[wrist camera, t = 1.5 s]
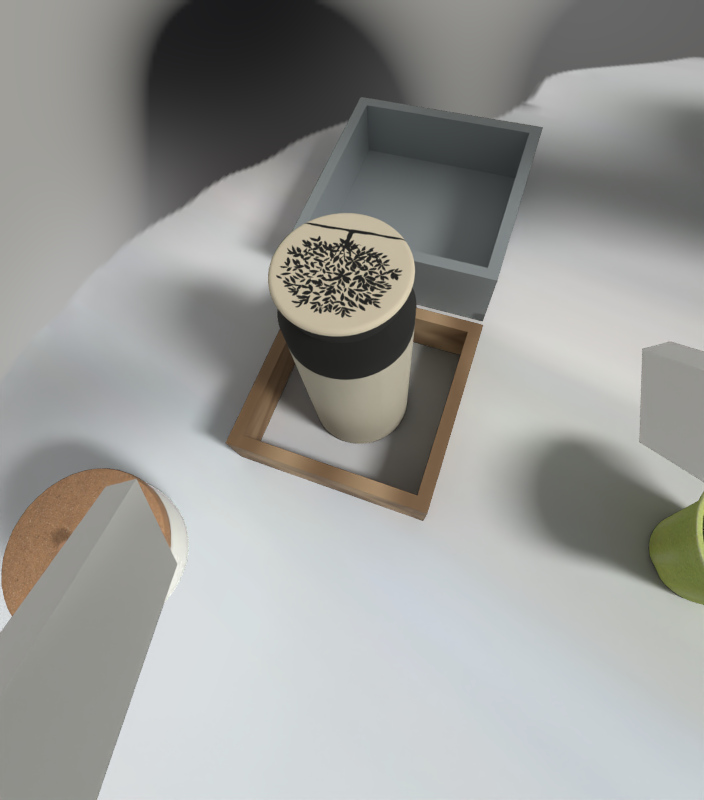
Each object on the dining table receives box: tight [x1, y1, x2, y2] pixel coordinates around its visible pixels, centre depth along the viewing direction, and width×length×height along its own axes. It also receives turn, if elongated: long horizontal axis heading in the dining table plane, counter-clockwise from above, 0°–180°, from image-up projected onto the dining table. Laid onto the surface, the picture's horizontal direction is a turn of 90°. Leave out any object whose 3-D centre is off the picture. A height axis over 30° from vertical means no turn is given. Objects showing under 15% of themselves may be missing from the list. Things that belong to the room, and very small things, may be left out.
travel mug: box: [268, 213, 416, 444], centre depth 31 cm, size 8×8×18 cm
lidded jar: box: [2, 468, 189, 616], centre depth 31 cm, size 11×11×9 cm
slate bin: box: [292, 97, 543, 321], centre depth 43 cm, size 18×18×6 cm
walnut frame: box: [226, 308, 483, 521], centre depth 37 cm, size 16×16×4 cm
